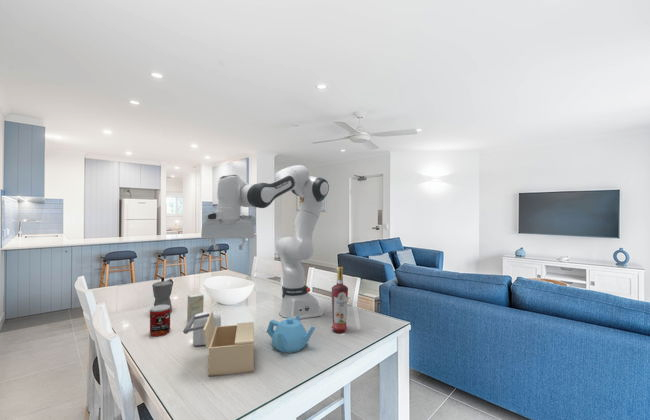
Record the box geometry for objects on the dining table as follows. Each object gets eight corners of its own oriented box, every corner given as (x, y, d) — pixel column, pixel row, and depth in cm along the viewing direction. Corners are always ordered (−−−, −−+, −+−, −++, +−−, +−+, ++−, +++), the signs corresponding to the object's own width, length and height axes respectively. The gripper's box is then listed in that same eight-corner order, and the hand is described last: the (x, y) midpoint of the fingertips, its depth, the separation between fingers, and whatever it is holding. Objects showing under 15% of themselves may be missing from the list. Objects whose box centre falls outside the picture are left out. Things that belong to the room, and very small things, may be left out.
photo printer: (221, 340, 122) (221, 309, 122) (219, 344, 118) (220, 313, 118) (194, 342, 120) (194, 311, 120) (191, 347, 116) (192, 315, 116)
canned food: (149, 338, 123) (149, 311, 123) (150, 331, 130) (150, 305, 130) (170, 334, 127) (170, 308, 127) (170, 328, 134) (170, 303, 134)
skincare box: (190, 323, 139) (190, 297, 139) (186, 320, 142) (187, 295, 142) (203, 320, 143) (204, 294, 143) (200, 317, 147) (200, 292, 147)
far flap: (212, 309, 112) (191, 314, 111) (205, 327, 96) (180, 332, 94) (215, 326, 113) (194, 331, 111) (208, 347, 96) (184, 353, 94)
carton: (253, 346, 116) (253, 321, 116) (253, 371, 99) (253, 341, 99) (215, 350, 113) (215, 324, 113) (208, 376, 95) (208, 345, 95)
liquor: (333, 334, 128) (334, 269, 128) (329, 328, 135) (329, 266, 135) (350, 333, 130) (350, 268, 130) (344, 326, 137) (345, 265, 137)
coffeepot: (163, 317, 146) (163, 280, 146) (145, 317, 147) (145, 280, 147) (180, 307, 162) (181, 274, 162) (163, 306, 162) (164, 273, 162)
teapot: (300, 334, 128) (300, 309, 128) (316, 349, 115) (316, 321, 115) (265, 342, 121) (265, 315, 121) (278, 358, 108) (278, 328, 108)
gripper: (255, 215, 125) (255, 248, 125) (203, 214, 120) (203, 249, 120) (255, 215, 119) (255, 250, 119) (200, 215, 114) (200, 251, 114)
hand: (228, 249), depth 120 cm, fingers open, 8 cm apart
